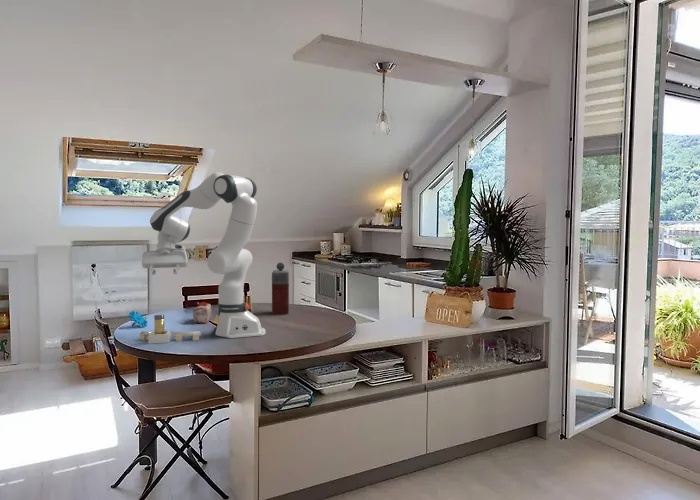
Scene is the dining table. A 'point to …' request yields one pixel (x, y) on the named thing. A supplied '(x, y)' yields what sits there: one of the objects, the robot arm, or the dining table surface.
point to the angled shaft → (144, 335)
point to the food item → (202, 313)
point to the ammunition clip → (248, 303)
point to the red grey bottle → (280, 290)
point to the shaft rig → (167, 336)
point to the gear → (138, 319)
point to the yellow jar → (159, 324)
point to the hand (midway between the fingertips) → (164, 273)
